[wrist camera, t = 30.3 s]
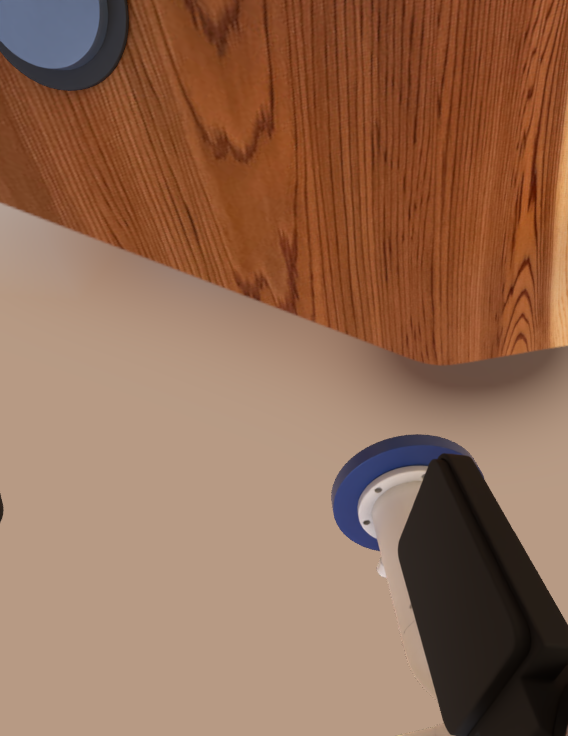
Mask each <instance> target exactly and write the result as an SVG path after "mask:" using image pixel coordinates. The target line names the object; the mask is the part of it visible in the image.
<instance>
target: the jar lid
mask: <svg viewBox="0 0 568 736" xmlns="http://www.w3.org/2000/svg"><path fill="white" fill-rule="evenodd" d="M107 24H108V7H107V0H0V41H1V42H2V43H3V44H4V45H5V46H6V47H7V48H8V49H9V50H10V51H11V52H13V53H14V54H15V55H17V56H18V57H19V58H21V59H23V60H24V61H26V62H28V63H30V64H33V65H35V66H38V67H42V68H47V69H54V70H72V69H76V68H79V67H81V66H83V65H85V64H86V63H88V62H89V61H90V60H91V59H93V58H94V56H95V55H96V54H97V53H98V51H99V49H100V48H101V46H102V44H103V41H104V39H105V35H106V31H107Z"/></svg>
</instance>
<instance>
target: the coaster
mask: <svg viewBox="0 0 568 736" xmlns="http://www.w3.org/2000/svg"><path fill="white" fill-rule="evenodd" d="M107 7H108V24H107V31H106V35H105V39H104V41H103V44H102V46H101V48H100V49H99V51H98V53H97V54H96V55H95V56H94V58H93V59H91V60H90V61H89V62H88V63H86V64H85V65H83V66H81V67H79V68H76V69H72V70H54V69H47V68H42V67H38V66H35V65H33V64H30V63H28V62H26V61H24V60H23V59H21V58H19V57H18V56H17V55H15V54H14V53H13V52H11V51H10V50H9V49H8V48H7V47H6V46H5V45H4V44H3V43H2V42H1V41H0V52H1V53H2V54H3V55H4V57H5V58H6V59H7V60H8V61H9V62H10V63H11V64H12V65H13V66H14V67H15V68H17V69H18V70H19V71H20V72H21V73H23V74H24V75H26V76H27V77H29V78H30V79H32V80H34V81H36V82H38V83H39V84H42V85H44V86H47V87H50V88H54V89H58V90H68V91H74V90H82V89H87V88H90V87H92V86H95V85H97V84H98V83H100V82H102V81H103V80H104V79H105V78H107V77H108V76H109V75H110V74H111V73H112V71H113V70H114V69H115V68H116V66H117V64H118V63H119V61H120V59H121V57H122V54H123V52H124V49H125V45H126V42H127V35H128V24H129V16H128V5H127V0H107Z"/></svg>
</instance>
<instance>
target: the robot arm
mask: <svg viewBox="0 0 568 736" xmlns="http://www.w3.org/2000/svg"><path fill="white" fill-rule="evenodd" d="M357 511H358V517H359V521H360V524H361V525H362V527H363V529H364V530H365V531H366V532H367V533H368V534H369V535H371V536H372V537H374V538H376V539H377V541H378V545H379V549H380V553H381V558H380V561H379V563H378V566H377V572H378V573H379V575H380V576H382V577H386V578H387V582H388V586H389V590H390V594H391V598H392V602H393V606H394V611H395V615H396V619H397V623H398V627H399V631H400V635H401V639H402V643H403V647H404V651H405V655H406V659H407V662H408V664H409V667H410V669H411V671H412V673H413V674H414V676H415V677H416V679H417V681H418V682H419V683H420V685H421V686H422V687H423V688H424V689H425V690H426V691H427V692H428V693H429V694H430V695H431V696H432V697H433V698H434V699H435V700H437V701H438V703H439V707H440V711H441V714H442V718H443V721H444V723H442V724H439V725H437V726H435V727H430V728H426V729H422V730H418V731H414V732H409V733H405V734H401V735H397V736H568V625H567V623H566V621H565V619H564V618H563V616H562V614H561V612H560V611H559V609H558V607H557V605H556V604H555V602H554V600H553V598H552V597H551V595H550V593H549V591H548V590H547V588H546V586H545V584H544V583H543V581H542V579H541V578H540V576H539V574H538V572H537V570H536V569H535V567H534V565H533V564H532V562H531V560H530V558H529V556H528V555H527V553H526V551H525V549H524V548H523V546H522V544H521V542H520V541H519V539H518V537H517V536H516V534H515V532H514V531H513V529H512V527H511V525H510V524H509V522H508V520H507V518H506V517H505V515H504V513H503V512H502V510H501V508H500V506H499V504H498V503H497V501H496V499H495V497H494V496H493V494H492V492H491V491H490V489H489V487H488V485H487V483H486V482H485V480H484V478H483V476H482V475H481V473H480V471H479V469H478V468H477V466H476V464H475V462H474V461H473V459H472V458H471V457H469V456H466V455H456V454H446V453H443V454H441V455H440V456H439V457H438V459H432V460H431V461H430V463H429V466H407V467H401V468H398V469H394V470H391V471H389V472H387V473H385V474H382V475H381V476H379V477H378V478H376V479H375V480H373V481H372V482H371V483H370V484H369V485H368V486H367V487H366V488H365V489H364V491H363V492H362V494H361V496H360V498H359V500H358V505H357ZM2 516H3V503H2V499H1V495H0V521H1V519H2Z"/></svg>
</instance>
